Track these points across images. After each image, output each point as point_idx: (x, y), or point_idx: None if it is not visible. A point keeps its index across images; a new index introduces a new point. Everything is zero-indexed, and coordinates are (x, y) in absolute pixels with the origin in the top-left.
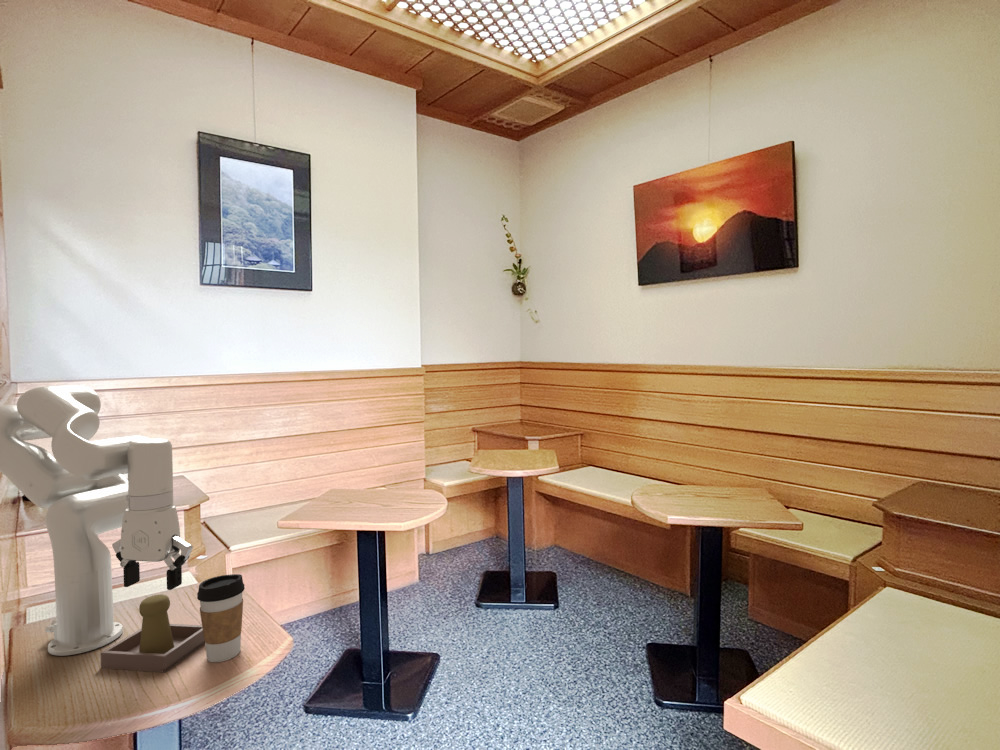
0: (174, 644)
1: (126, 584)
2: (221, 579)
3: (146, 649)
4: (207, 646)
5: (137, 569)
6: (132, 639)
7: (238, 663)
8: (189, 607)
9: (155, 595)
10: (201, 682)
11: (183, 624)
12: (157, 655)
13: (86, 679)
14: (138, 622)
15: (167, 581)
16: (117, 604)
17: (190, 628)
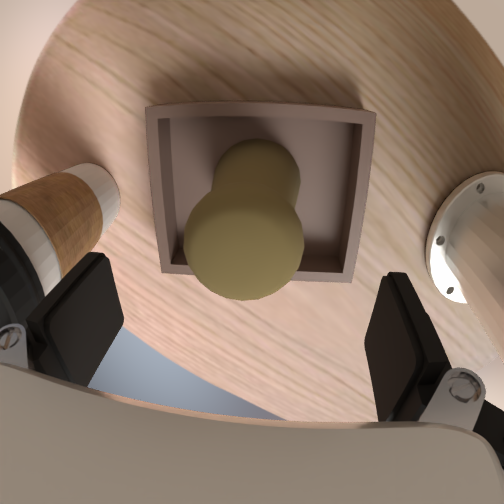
0: None
1: (393, 281)
2: None
3: (251, 147)
4: (77, 172)
5: (378, 389)
6: (350, 206)
7: (41, 169)
8: (342, 373)
9: (251, 280)
10: (56, 92)
11: None
12: (170, 108)
13: (357, 58)
14: None
15: (73, 276)
16: (486, 362)
17: None
